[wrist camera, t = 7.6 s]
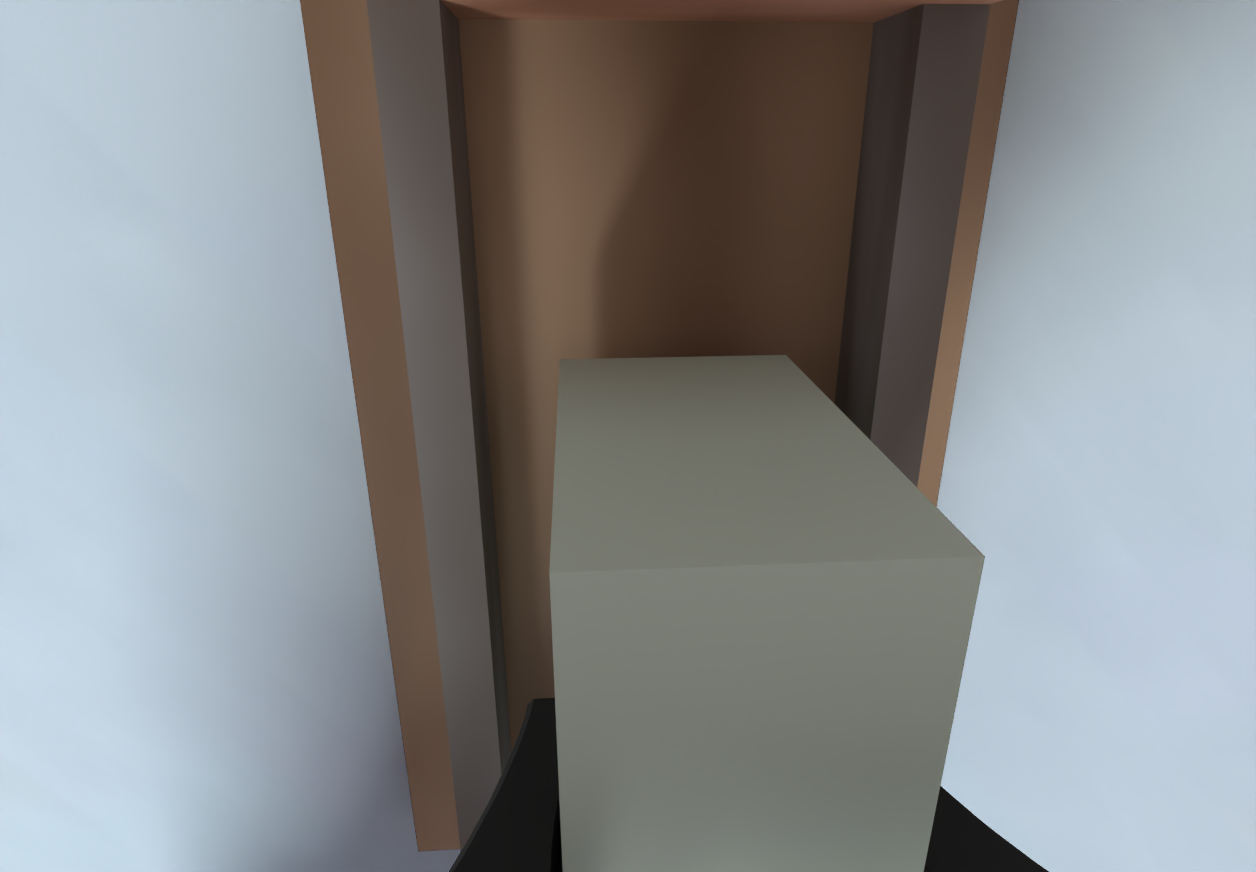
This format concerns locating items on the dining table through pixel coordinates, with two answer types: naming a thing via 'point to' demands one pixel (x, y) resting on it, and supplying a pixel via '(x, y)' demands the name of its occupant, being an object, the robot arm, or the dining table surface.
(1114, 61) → the dining table surface
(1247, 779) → the dining table surface
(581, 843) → the pale green block
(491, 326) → the track
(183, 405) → the dining table surface
